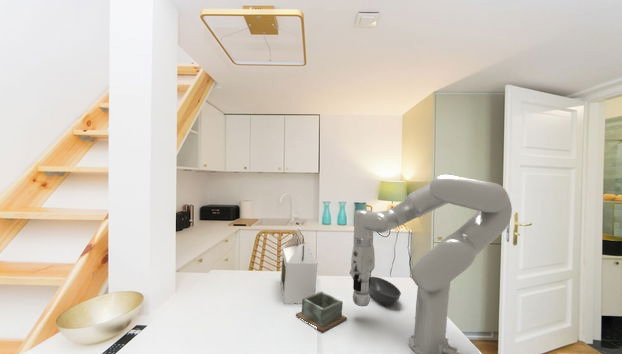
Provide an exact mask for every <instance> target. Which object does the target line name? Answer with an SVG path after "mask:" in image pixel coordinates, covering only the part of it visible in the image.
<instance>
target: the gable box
mask: <svg viewBox="0 0 622 354" xmlns="http://www.w3.org/2000/svg"><path fill="white" fill-rule="evenodd" d="M304 239H305V237H304V235H303V233H302V232H301V231H300V229H297V232H296V231H294V235H293V236H292V237H291V238H290V239H289V241H288V242H287V243H286V245H285V246H284V247H283V248H282V255H281V257H282V258H281V268H280V269H281V273H280V287H281V288H280V289H281V293H282V300H283V304H284V305H288V303H302V300H303V298H306V297H309V296H311V295H314V294H316V289H317V275H318V265H319V264H318V262H317V260H316V258H315V256H314V255H313V253H312V251H311V249H310V248H309V245H307V244H306V242H305V240H304Z"/></svg>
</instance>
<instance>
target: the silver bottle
mask: <svg viewBox="0 0 622 354" xmlns="http://www.w3.org/2000/svg"><path fill="white" fill-rule="evenodd" d="M370 269H371V268H370V266H368V268H367V272H366V273H364V274H361V279H360V281H361V291H360V292H359V291H356V290H354V289H353V291H352V292H353V293H352V301H353V303H354V305H356V306H359V307H367V306H368V305H369V304H370V302H371V293H370V291H369V276H370ZM356 271H357V272H358V270H357V269H356ZM356 275H357V276H358V273H356Z"/></svg>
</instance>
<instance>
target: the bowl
mask: <svg viewBox="0 0 622 354" xmlns="http://www.w3.org/2000/svg"><path fill="white" fill-rule="evenodd" d="M369 294H370V296H371V297H372V298H373V299H374V300H375V301H376V302H377V303H379V304H380V305H382V306H384V307H387V308H388V307H389V308H391V307H393V306H394V305H396V304H397V303H398V301H399V299H400V297H401V294H402V292H401V291H400V289H399V288H398V287H397V286H396V285H395V284H393V283H391V282H390V281H388V280H386V279H383V278H381V277H377V276H371V277H370V287H369Z"/></svg>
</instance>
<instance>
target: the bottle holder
mask: <svg viewBox="0 0 622 354" xmlns="http://www.w3.org/2000/svg"><path fill="white" fill-rule="evenodd" d="M343 303H344V302H343V301H342V300H340V299H338V298H335V297H334V296H332V295H330V294H328V293H326V292H324V291H319V292H317V293H315V294H314V295H311V296H309V297H306V298H303V300H302V304H301V311H299V312H298V313H295V317H296V316H298V317H299V318H301V319H303V320H304V321H306V322H308V323H310V324H312V325H314V326H316V327H317V330H316V331H318V332H320V334H324V333H326V332H327V331H328V332H329V330H331V329H333V328H335V327H337V326H339V325H341V324H342V323H344V322H346V321H347V320H348V317H347V316H345V315H344V314H343ZM298 317H297V318H298ZM299 318H298V319H299ZM301 319H300V320H301ZM304 321H303V322H304Z"/></svg>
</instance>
